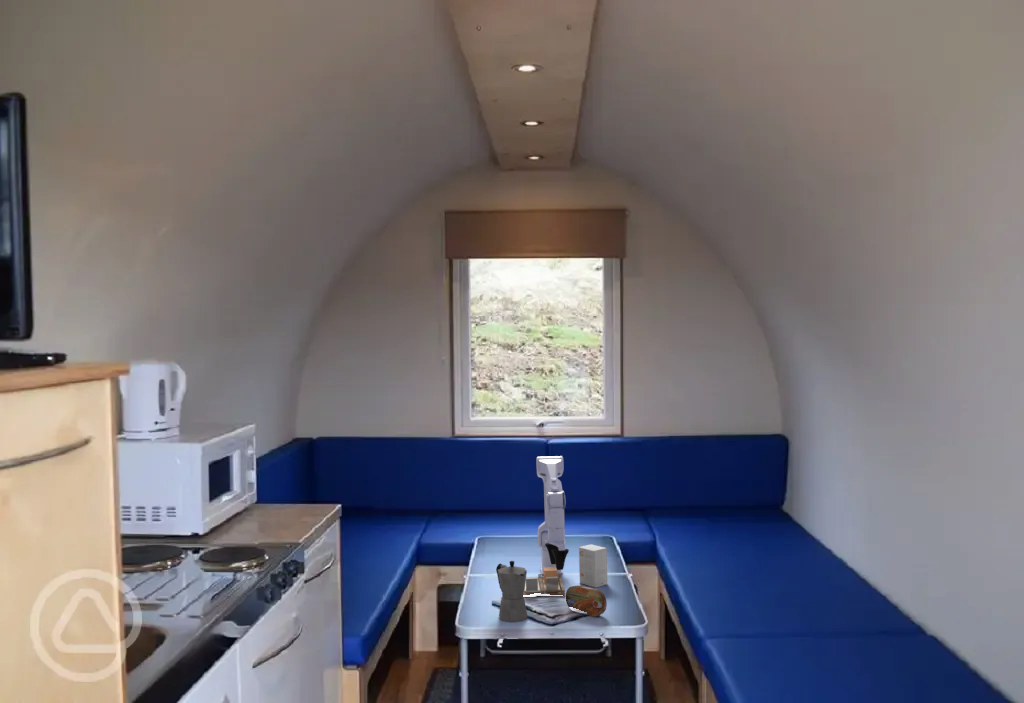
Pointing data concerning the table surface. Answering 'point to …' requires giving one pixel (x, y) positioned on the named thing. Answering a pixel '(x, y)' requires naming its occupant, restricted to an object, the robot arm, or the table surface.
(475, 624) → the table surface
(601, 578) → the small box
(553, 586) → the strip
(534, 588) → the strip
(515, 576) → the coffeepot
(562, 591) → the lane board
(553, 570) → the cube
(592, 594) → the tin
